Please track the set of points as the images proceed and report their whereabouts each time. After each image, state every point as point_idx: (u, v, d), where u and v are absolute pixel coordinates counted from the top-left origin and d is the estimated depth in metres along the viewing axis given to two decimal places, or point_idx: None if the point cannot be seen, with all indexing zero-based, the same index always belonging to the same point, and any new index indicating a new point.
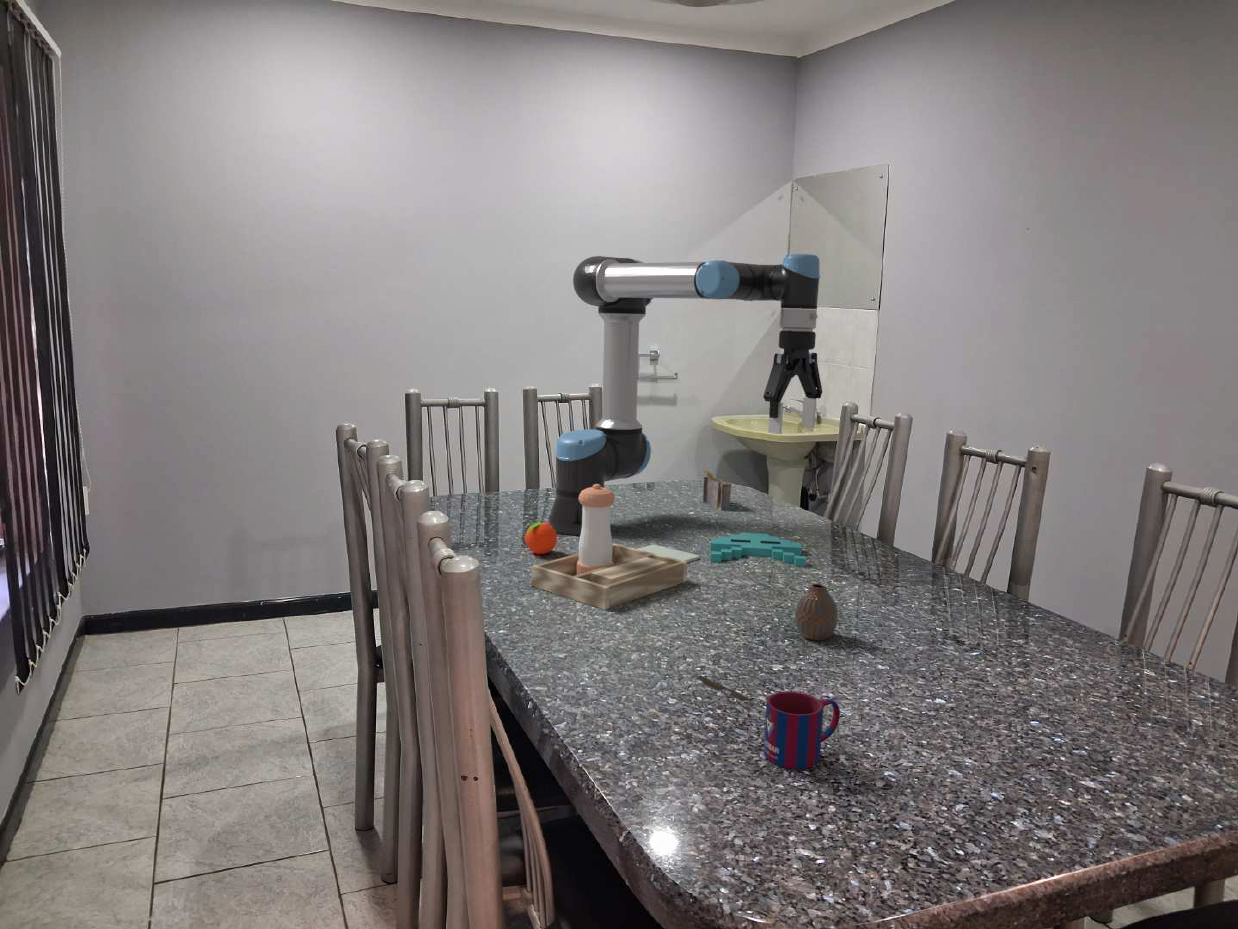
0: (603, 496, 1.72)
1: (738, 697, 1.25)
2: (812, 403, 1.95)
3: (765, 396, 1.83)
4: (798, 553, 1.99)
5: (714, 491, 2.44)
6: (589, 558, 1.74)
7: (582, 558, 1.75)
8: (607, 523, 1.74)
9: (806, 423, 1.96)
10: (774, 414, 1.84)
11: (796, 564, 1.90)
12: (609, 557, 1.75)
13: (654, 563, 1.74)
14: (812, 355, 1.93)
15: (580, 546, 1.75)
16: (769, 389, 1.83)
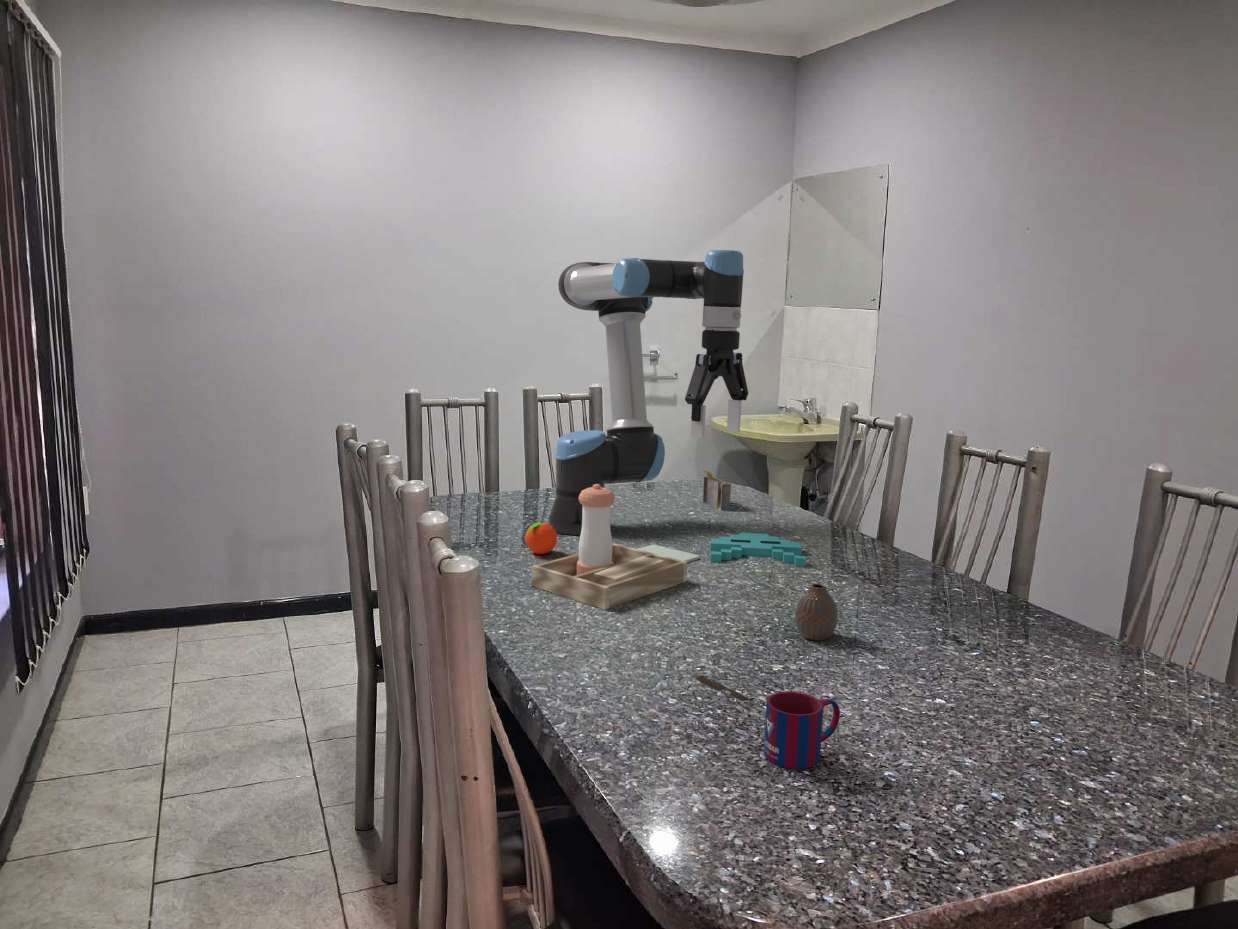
0: (603, 496, 1.72)
1: (738, 697, 1.25)
2: (737, 405, 1.87)
3: (687, 399, 1.75)
4: (798, 553, 1.99)
5: (714, 491, 2.44)
6: (589, 558, 1.74)
7: (582, 558, 1.75)
8: (607, 523, 1.74)
9: (731, 426, 1.89)
10: (696, 417, 1.77)
11: (796, 564, 1.90)
12: (609, 557, 1.75)
13: (653, 562, 1.74)
14: (737, 355, 1.85)
15: (580, 546, 1.75)
16: (691, 391, 1.75)
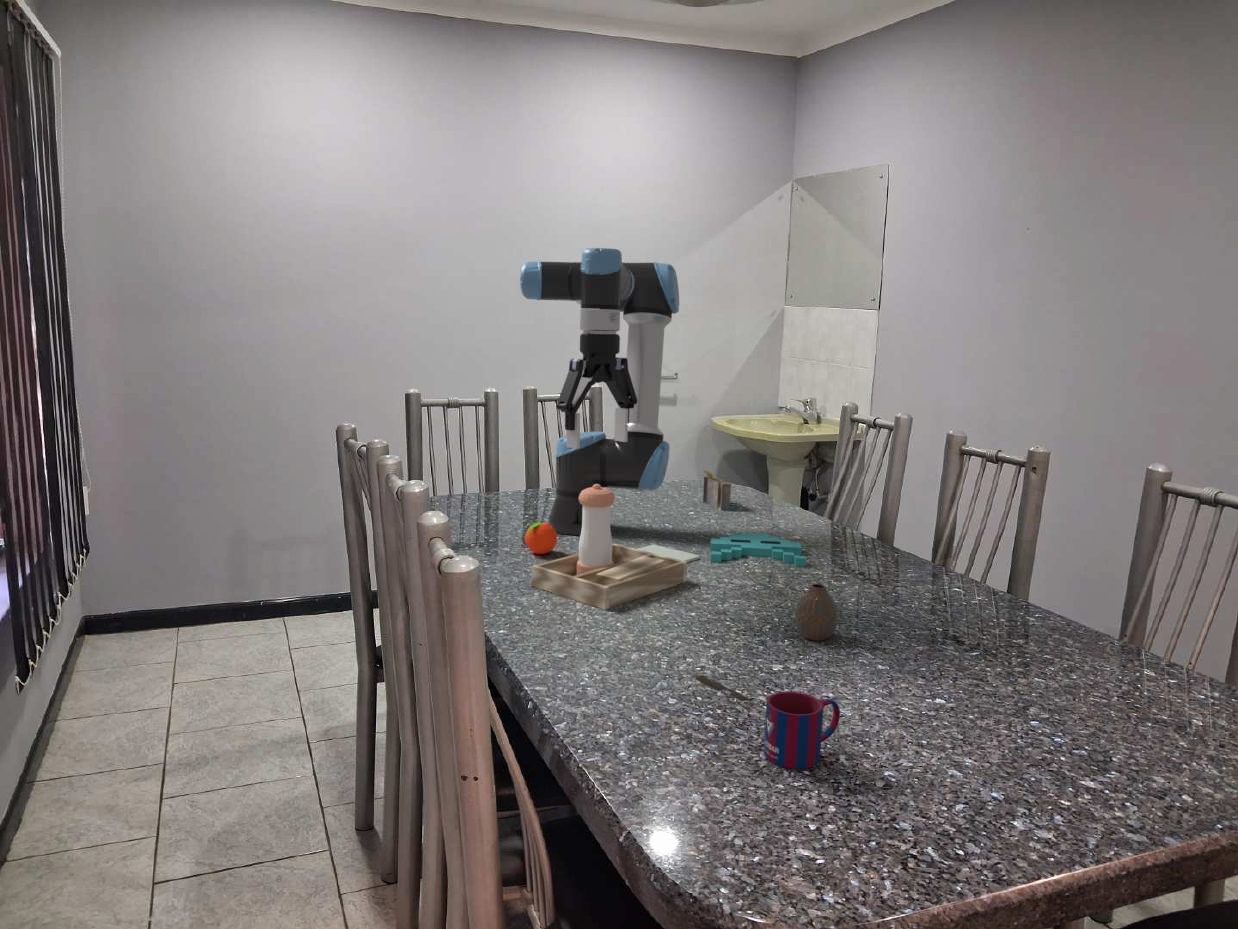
0: (603, 496, 1.72)
1: (738, 697, 1.25)
2: (624, 414, 1.76)
3: (558, 406, 1.64)
4: (798, 553, 1.99)
5: (714, 491, 2.44)
6: (589, 558, 1.74)
7: (582, 558, 1.75)
8: (607, 523, 1.74)
9: (619, 436, 1.77)
10: (569, 426, 1.65)
11: (796, 564, 1.90)
12: (609, 557, 1.75)
13: (653, 562, 1.75)
14: (621, 360, 1.74)
15: (580, 546, 1.75)
16: (562, 398, 1.64)
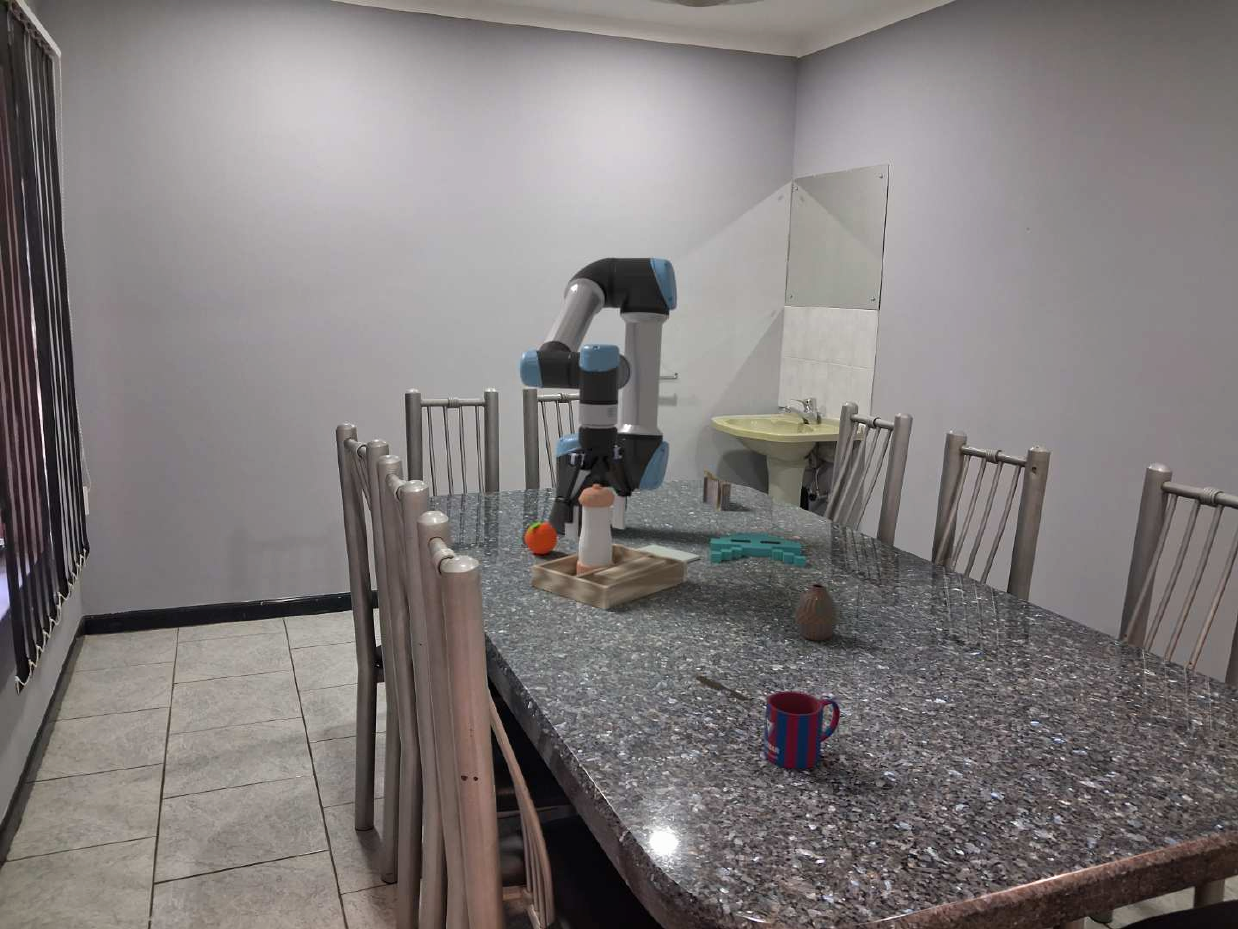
0: (603, 496, 1.72)
1: (738, 697, 1.25)
2: (621, 502, 1.79)
3: (557, 500, 1.67)
4: (798, 553, 1.99)
5: (714, 491, 2.44)
6: (589, 558, 1.74)
7: (582, 558, 1.75)
8: (607, 523, 1.74)
9: (616, 523, 1.80)
10: (568, 519, 1.68)
11: (796, 564, 1.90)
12: (609, 557, 1.75)
13: (655, 562, 1.74)
14: (619, 451, 1.77)
15: (580, 546, 1.75)
16: (561, 493, 1.67)
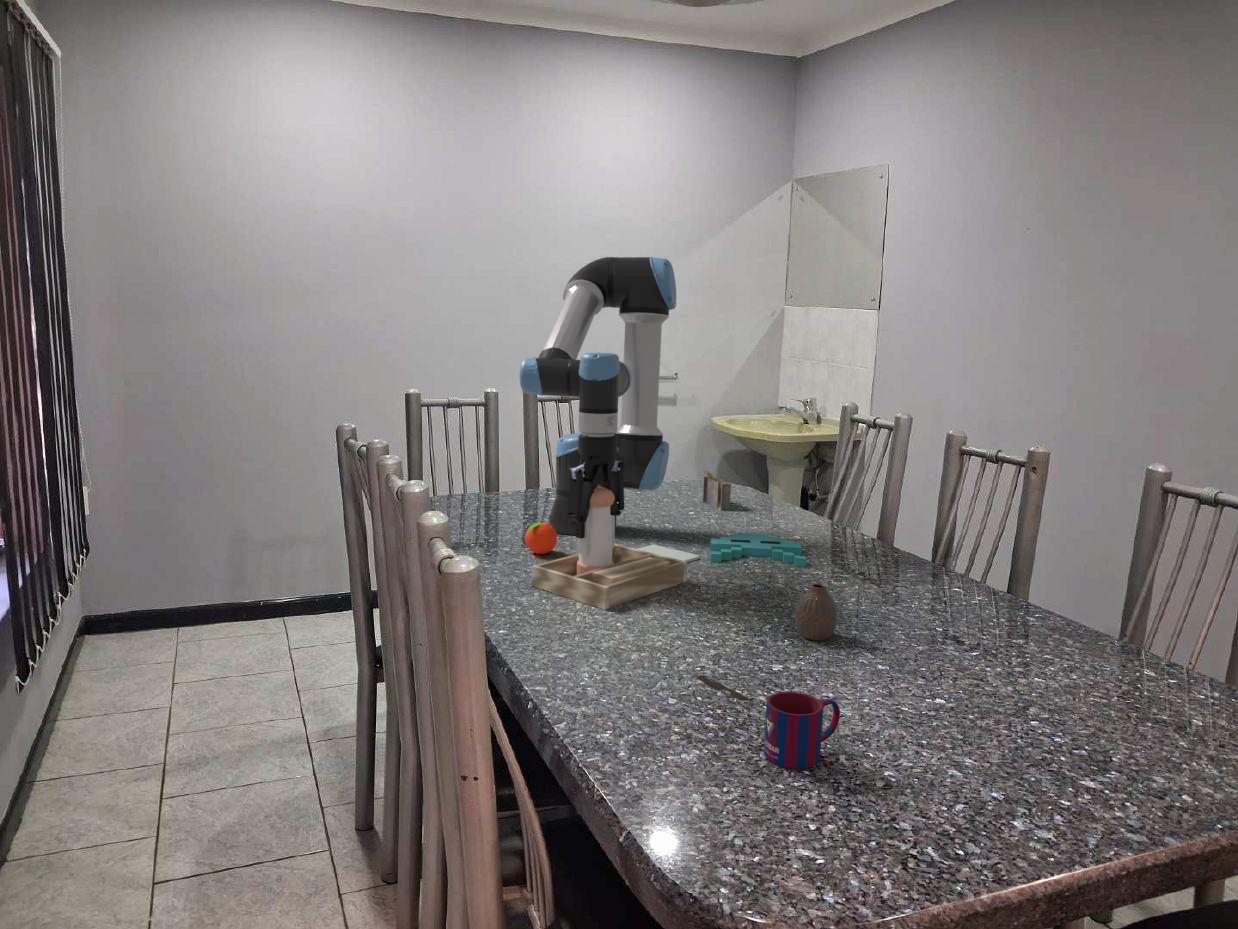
0: (603, 496, 1.72)
1: (738, 697, 1.25)
2: (611, 521, 1.77)
3: (569, 517, 1.70)
4: (798, 553, 1.99)
5: (714, 491, 2.44)
6: (589, 558, 1.74)
7: (582, 558, 1.75)
8: (607, 523, 1.74)
9: None
10: (579, 534, 1.72)
11: (796, 564, 1.90)
12: (609, 557, 1.75)
13: (657, 563, 1.74)
14: (619, 463, 1.77)
15: None
16: (571, 509, 1.70)
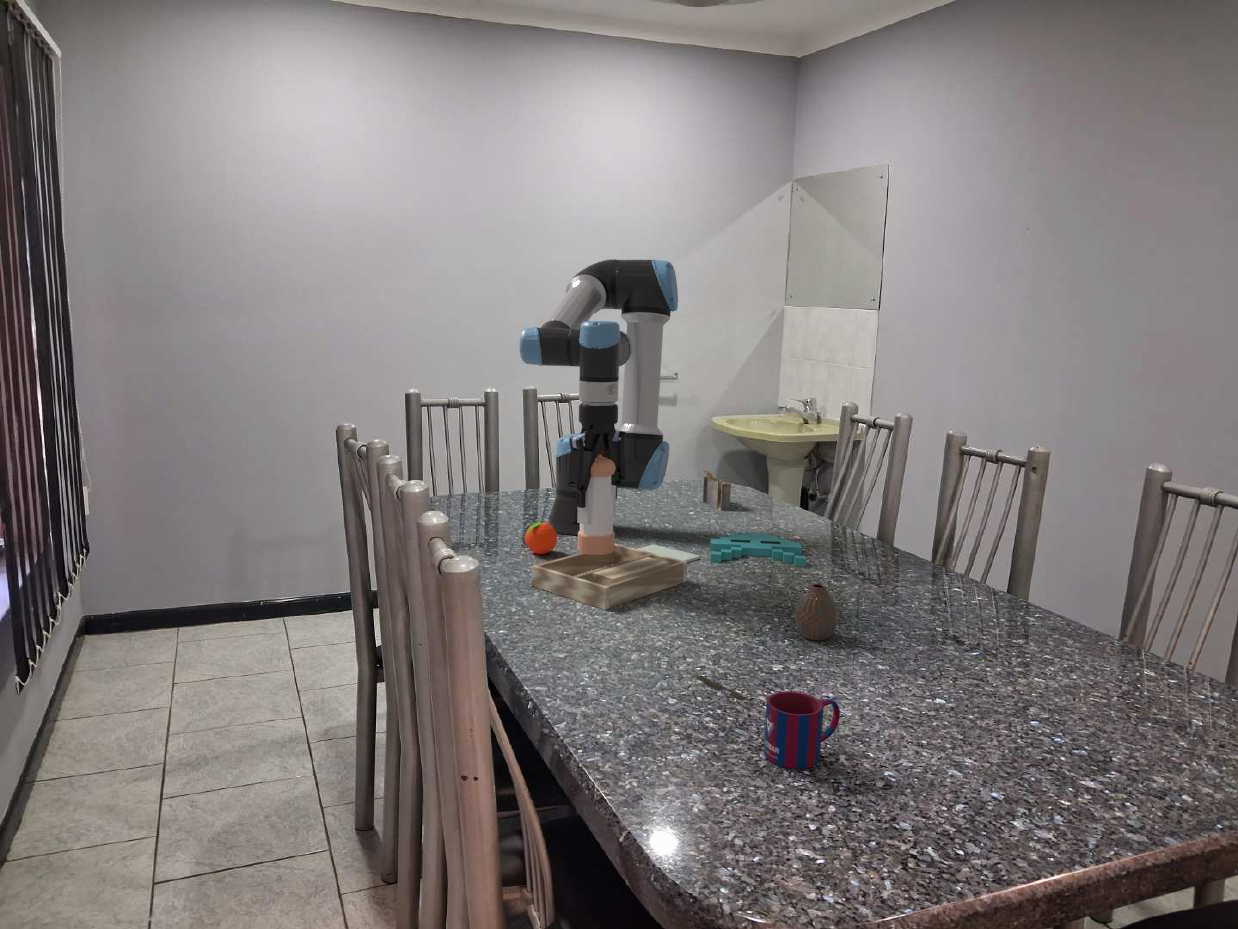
0: (603, 465, 1.71)
1: (738, 697, 1.25)
2: (612, 491, 1.77)
3: (569, 486, 1.70)
4: (798, 553, 1.99)
5: (714, 491, 2.45)
6: (590, 528, 1.73)
7: (583, 528, 1.74)
8: (608, 493, 1.73)
9: None
10: (580, 504, 1.71)
11: (796, 564, 1.90)
12: (610, 527, 1.74)
13: (656, 563, 1.74)
14: (620, 433, 1.76)
15: None
16: (571, 479, 1.69)
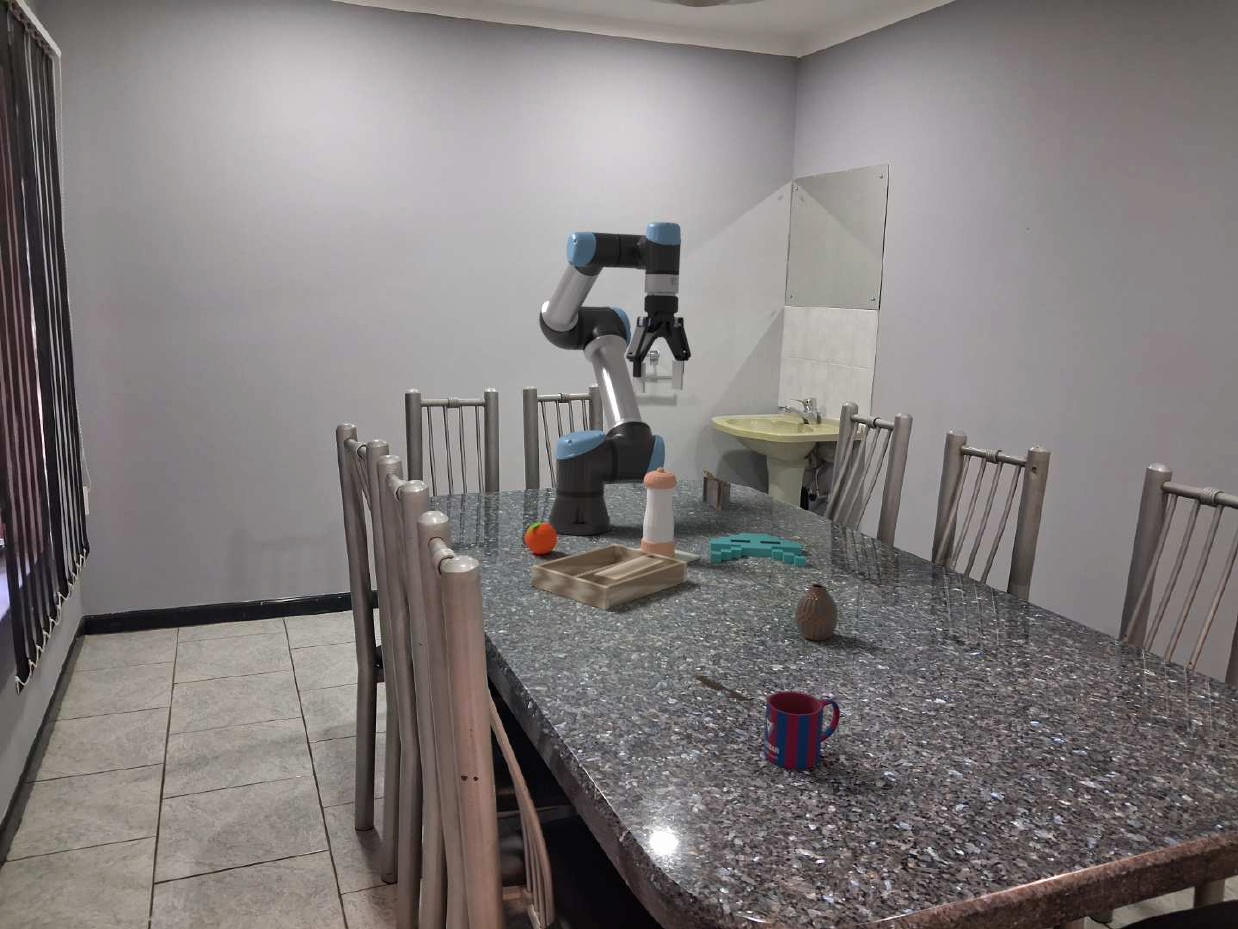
0: (666, 478, 1.88)
1: (737, 697, 1.25)
2: (680, 365, 2.06)
3: (627, 356, 1.94)
4: (798, 553, 1.99)
5: (714, 491, 2.45)
6: (653, 535, 1.90)
7: (647, 535, 1.91)
8: (670, 503, 1.90)
9: (675, 384, 2.07)
10: (637, 373, 1.95)
11: (796, 564, 1.90)
12: (671, 534, 1.91)
13: (653, 562, 1.75)
14: (678, 319, 2.03)
15: (645, 524, 1.91)
16: (631, 350, 1.94)
